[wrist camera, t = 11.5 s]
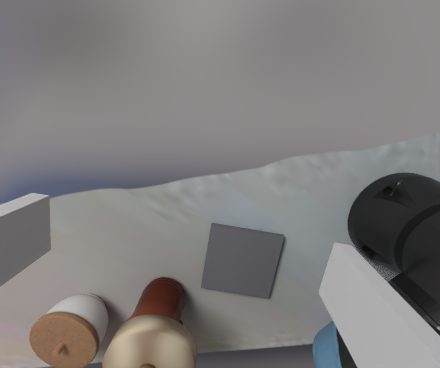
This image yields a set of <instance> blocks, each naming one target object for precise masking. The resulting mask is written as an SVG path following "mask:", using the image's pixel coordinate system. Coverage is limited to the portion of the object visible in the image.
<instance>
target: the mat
mask: <svg viewBox="0 0 440 368" xmlns="http://www.w3.org/2000/svg"><path fill="white" fill-rule="evenodd" d="M283 240H284V236H283V235H282V234H276V233H270V232H263V231H257V230H251V229H245V228H239V227H233V226H227V225H221V224H215V223H212V225H211V231H210V237H209V243H208V249H207V255H206V261H205V267H204V273H203V279H202V285H201V288H206V289H213V290H219V291H225V292H231V293H238V294H244V295H250V296H256V297H262V298H269V294H270V290H271V287H272V283H273V279H274V275H275V271H276V267H277V264H278V260H279V256H280V252H281V248H282V244H283Z"/></svg>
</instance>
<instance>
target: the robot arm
mask: <svg viewBox="0 0 440 368" xmlns="http://www.w3.org/2000/svg"><path fill="white" fill-rule="evenodd" d="M348 231H349V235H350V238H351V240H352V242H353V243H354V245H355V246H356V247H357V248H358V249H359V250H360V251H361V252H362V253H363V254H364V255H365V256H366V257H367V258H368V259H370V260H371V261H373V262H375V263H377V264H379V265H381V266H384V267H386V268H388V269H391V270H393V271H396V272H398V273H400V274H399V275H397V276H396V277H394V278H393V279H391V280H390V281H388V282H387V281H386V280H385V279H384V278H383V277H382V276H381V275H380V274H379V273H378V272H377V271H376V270H375V269H374V268H373V267H372V266H371V265H370V264H369V263H368V262H367V261H366V260H365V259H364V258H363V257H362V256H361V255H360V254H359V253H358V252H357V251H356V250H355V249H354V248H353V247H352V246H351V245H347V244H341V243H334V246H333V249H332V252H331V255H330V258H329V261H328V264H327V267H326V270H325V273H324V277H323V280H322V283H321V286H320V289H319V292H318V293H319V295H320V297H321V299H322V300H323V302H324V304H325V306H326V308H327V310H328V312H329V314H330V316H331V318H332V320H333V321H332V322H331V323H329V324H328V325H327V326H326V327H324V328H323V329H322V330H321V331H319V332H318V334H317V335H316V337H315V339H314V342H313V357H314V366H315V368H440V182H438V181H436V180H434V179H432V178H429V177H425V176H422V175H418V174H414V173H396V174H392V175H388V176H385V177H383V178H380V179H378V180H376V181H375V182H373V183H372V184H370V185H369V186H368V187H366V188H365V189H364V190H363V191H362V192H361V193H360V194H359V196H358V197H357V198H356V200H355V201H354V203H353V205H352V207H351V210H350V213H349V217H348ZM49 250H51V241H50V206H49V196H47V195H42V194H35V193H31V194H28V195H26V196H23V197H20V198H18V199H15V200H13V201H10V202H7V203H4V204H2V205H0V286H2V285H3V284H4V283H6V282H7V281H9V280H10V279H11V278H13V277H14V276H15V275H17V274H18V273H19V272H21V271H22V270H24V269H25V268H26V267H28V266H29V265H30V264H32V263H33V262H34V261H36V260H37V259H39V258H40V257H41V256H43V255H44V254H45V253H47V252H48V251H49Z"/></svg>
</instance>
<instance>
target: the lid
mask: <svg viewBox="0 0 440 368" xmlns="http://www.w3.org/2000/svg"><path fill="white" fill-rule="evenodd" d="M196 356H197V346H196V342H195V340H194V338H193V336H192V334H191V333H190V332H189V331H188V330H187V329H186V328H185V327H184V326H183V325H182V324H180V323H179V322H177V321H175V320H173V319H171V318H168V317H165V316H161V315H141V316H137V317H134V318H131V319H129V320H127V321H126V322H124V323H123V324H122V325H121V326H120V327H119V328H118V330H117V332H116V333H115V335H114V337H113V339H112V341H111V343H110V345H109V347H108V349H107V351H106V352H105V354H104V357H103V363H102V364H103V368H195V365H196Z"/></svg>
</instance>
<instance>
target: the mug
mask: <svg viewBox="0 0 440 368" xmlns="http://www.w3.org/2000/svg"><path fill="white" fill-rule="evenodd" d="M183 307H184V290H183V288H182V286H181V285H180V284H179V283H178V282H177V281H175V280H173V279H171V278H166V277H161V278H157V279H154V280H153V281H151V282H150V283H149V284H148V285H147V287H146V288H145V289H144V291H143V293H142V295H141V297H140V299H139V302H138V304H137V306H136V309H135V311H134V313H133V314H132V315H131V317H130V318H129V319H131V318H134V317H137V316H141V315H161V316H165V317H168V318H171V319H173V320H175V321H177V322H179V323H180V324H182V325H183V323H182V321H181V320H180V318H181V314H182V310H183ZM129 319H128V320H129Z"/></svg>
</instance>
